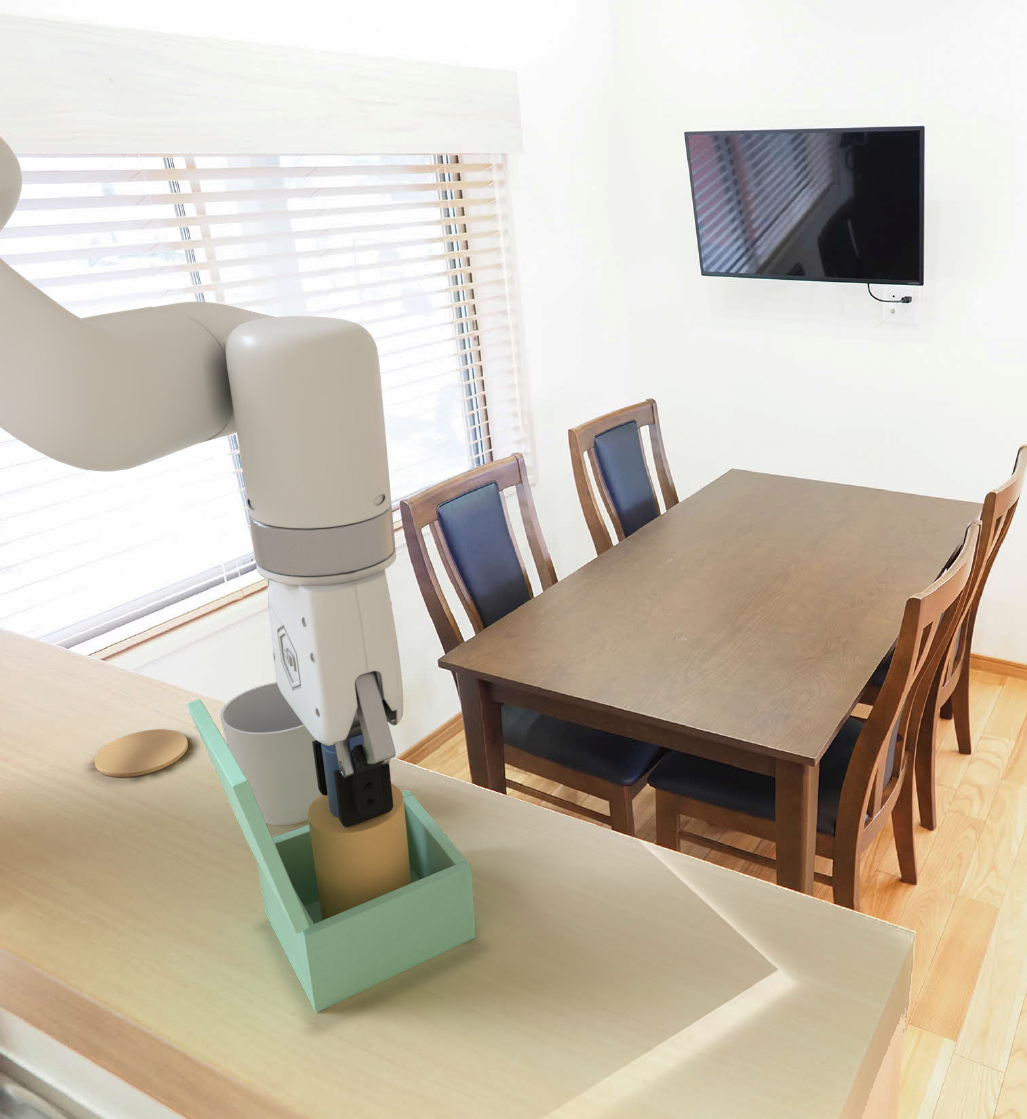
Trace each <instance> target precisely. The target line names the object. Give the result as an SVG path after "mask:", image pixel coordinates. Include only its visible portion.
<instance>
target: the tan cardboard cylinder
mask: <svg viewBox="0 0 1027 1119" xmlns="http://www.w3.org/2000/svg"><path fill="white" fill-rule="evenodd" d="M349 743H350V749H351V751H352V749H353V748H354V746H356V745H359V744H363V743H364V737H363V734H362V735H359V736H356V737H353V738H349ZM321 746H322V754H323V762H324V769H325V777H326V785H327V793H328V795H326V796H325V795H322V794H320V795H319V796H318V797H317V798H316V799H315V800H314V801H313V802H312V804H311V805H310V807H309V810H308V820H307V821H308V825H309V828H310V835H311V842H312V849H313V857H314V864H315V871H316V878H317V885H318V892H319V900H320V907H321V914H322V920H325V919H327V918H330V917H332V916H334V915H337V914H339V913H342V912H344V911H346V910H349V909H351V908H354V907H356V906H358V905H361V904H363V903H365V902H368V901H370V900H373V899H375V898H377V897H380V896H382V895H385V894H387V893H389V892H392V891H394V890H397V889H399V888H401V887H404V886H406V885H409V884H411V873H410V863H409V852H408V841H407V831H406V820H405V809H404V799H403V794H402V790H401V789H400V788H399V787H398V786H397V785H395V784H394V783H392V782H391V787H392V797H393V809H392V810H391V811H390V812H388V813H386V814H383V815H380V816H378V817H375V818H372V819H369V820H367V821H364V822H361V823H358V824H356V825H353V826H350V827H344V826H343V825H342V823H341V822H340V819H339V811H338V803H337V795H336V787H335V779H334V771H336V770H339V764H338V758H337V752H336V746H335V744H334V745H330V746H328V745H325V744H322V743H321Z"/></svg>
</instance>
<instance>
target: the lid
mask: <svg viewBox="0 0 1027 1119" xmlns="http://www.w3.org/2000/svg"><path fill="white" fill-rule="evenodd" d="M186 707H187V710H188V711H189V714H190V716H191V718H192V721H193V723H194V725H195V728H196V729H197V732H198V734H199V736H200V739H201V740H202V742H203V745H204V748H205V750H206V752H207V755H208V757H209V759H210V762H211V764H212V766H213V768H214V770H215V773H216V775H217V777H218V780H219V781H220V784H221V786H222V789H223V791H224V793H225V795H226V797H227V801H228V802H229V804H230V807H231V809H232V812H233V814H234V816H235V818H236V820H237V822H238V825H239V827H240V829H241V832H242V833H243V836H244V838H245V841H246V843H247V845H248V846H249V849H250V850H251V852H252V854H253V857H254V858H255V859H256V863H257V862H258V863H259V865H260V867H261V869H262V871H263V873H264V875H265V877H266V878H267V880H268V882H269V884H270V886H271V888H272V890H273V892H274V894H275V895H276V897H277V899H278V901H279V903H280V905H281V907H282V909H283V910H284V912H285V914H286V916H287V918H288V920H289V922H290V924H291V925H292V927H293V929H294V931H295V933H296V934H298V933H300V932H302V931H303V930H305V929H307V928H308V927H309V924H308V921H307V919H306V917H305V914H304V912H303V909H302V907H301V905H300V902H299V900H298V898H297V895H296V893H295V891H294V888H293V886H292V883H291V881H290V879H289V876H288V874H287V872H286V869H285V867H284V865H283V862H282V860H281V857H280V855H279V853H278V850H277V848H276V846H275V843H274V841H273V836H272V834H271V831H270V829H269V826H268V823H266V822H265V820H264V817H263V815H262V812H261V810H260V808H259V805H258V803H257V801H256V798H255V796H254V793H253V791H252V789H251V786H250V784H249V782H248V780H247V778H246V776H245V774H244V773H243V771H242V769H241V768H240V766H239V764H238V762H237V761H236V759H235V757H234V756H233V754H232V752H231V750H230V749H229V747H228V745H227V741H226V739H225V738H224V736H223V735H222V733H221V731H220V730H219V728H218V726H217V725H216V723H215V721H214V720H213V717H212V716H211V715H210V713H209V711H208V709H207V708H206V705H205V704H204V702H203V700H202V699H201V698H198V699H195V700H193V701H190V702H188V703H187V704H186Z"/></svg>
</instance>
